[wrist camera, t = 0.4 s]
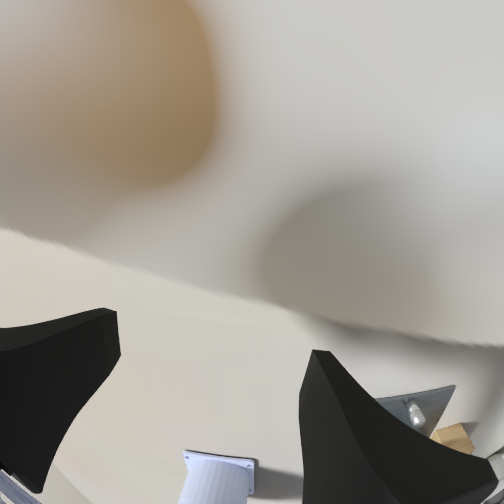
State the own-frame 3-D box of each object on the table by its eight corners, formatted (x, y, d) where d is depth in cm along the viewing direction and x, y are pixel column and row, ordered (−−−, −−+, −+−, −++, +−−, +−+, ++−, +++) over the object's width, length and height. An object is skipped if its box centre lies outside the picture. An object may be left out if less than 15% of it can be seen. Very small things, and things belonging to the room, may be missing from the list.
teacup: (477, 477, 24) (488, 501, 17) (450, 485, 24) (460, 513, 17) (522, 431, 21) (538, 455, 13) (502, 435, 21) (519, 464, 13)
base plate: (400, 475, 23) (406, 493, 20) (324, 487, 24) (325, 507, 21) (453, 385, 19) (467, 405, 16) (356, 400, 20) (364, 427, 17)
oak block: (447, 442, 21) (459, 467, 17) (423, 449, 22) (434, 477, 17) (459, 422, 21) (474, 448, 16) (435, 430, 21) (449, 458, 16)
